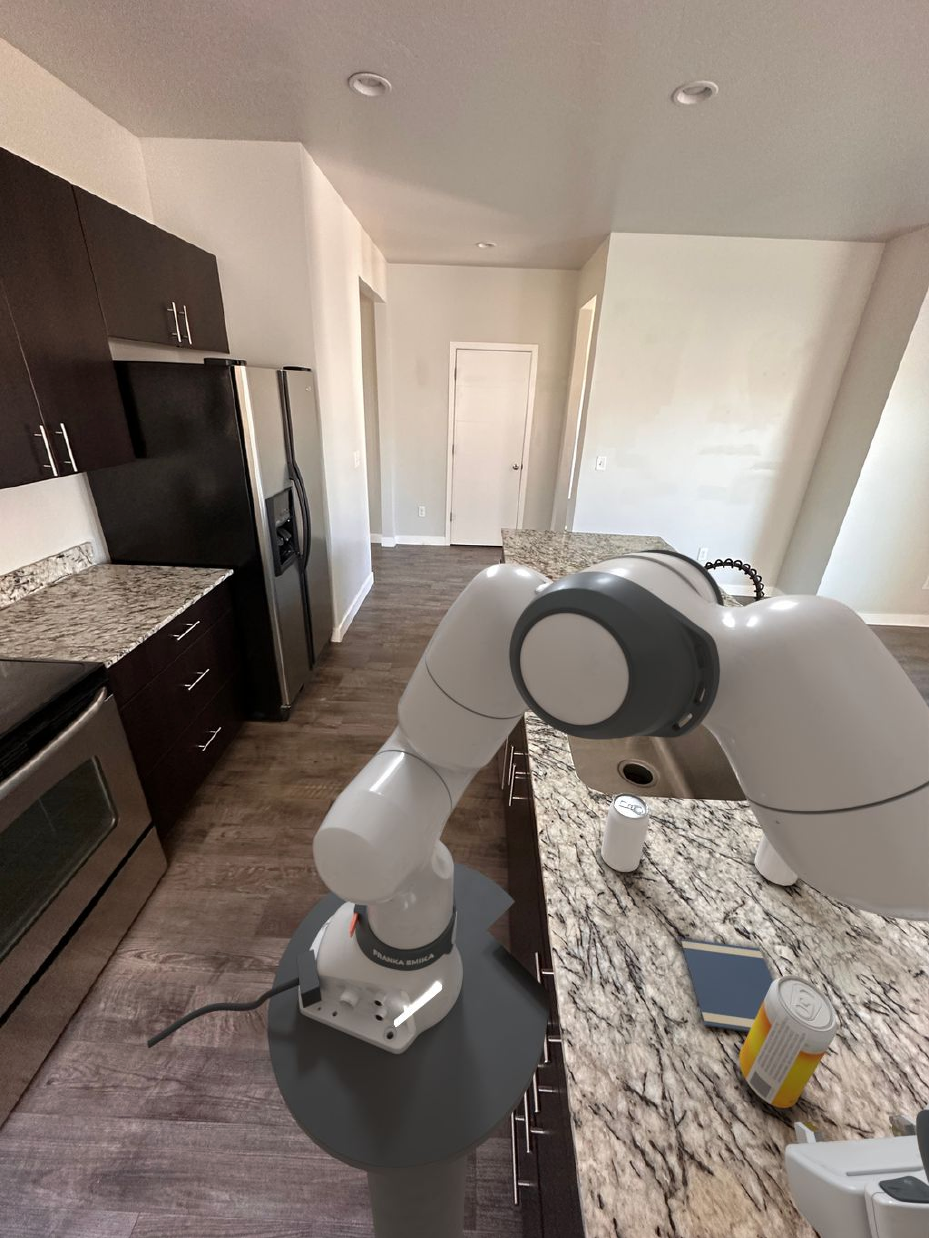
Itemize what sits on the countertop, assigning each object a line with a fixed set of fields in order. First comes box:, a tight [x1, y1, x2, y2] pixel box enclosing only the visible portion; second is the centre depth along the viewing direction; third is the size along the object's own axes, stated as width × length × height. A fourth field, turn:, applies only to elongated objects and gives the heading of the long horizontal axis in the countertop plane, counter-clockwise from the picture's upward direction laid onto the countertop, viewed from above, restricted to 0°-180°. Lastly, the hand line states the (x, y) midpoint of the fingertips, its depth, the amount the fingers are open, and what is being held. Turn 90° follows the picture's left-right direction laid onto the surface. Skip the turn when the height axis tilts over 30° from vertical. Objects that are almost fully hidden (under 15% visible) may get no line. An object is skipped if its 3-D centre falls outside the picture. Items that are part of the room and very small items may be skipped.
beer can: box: [738, 974, 838, 1109], centre depth 54 cm, size 6×6×15 cm
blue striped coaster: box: [680, 938, 774, 1034], centre depth 66 cm, size 11×11×1 cm
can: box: [600, 792, 651, 873], centre depth 82 cm, size 6×6×12 cm
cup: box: [753, 831, 799, 886], centre depth 80 cm, size 8×8×14 cm
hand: (850, 1128), depth 46 cm, fingers open, 8 cm apart
